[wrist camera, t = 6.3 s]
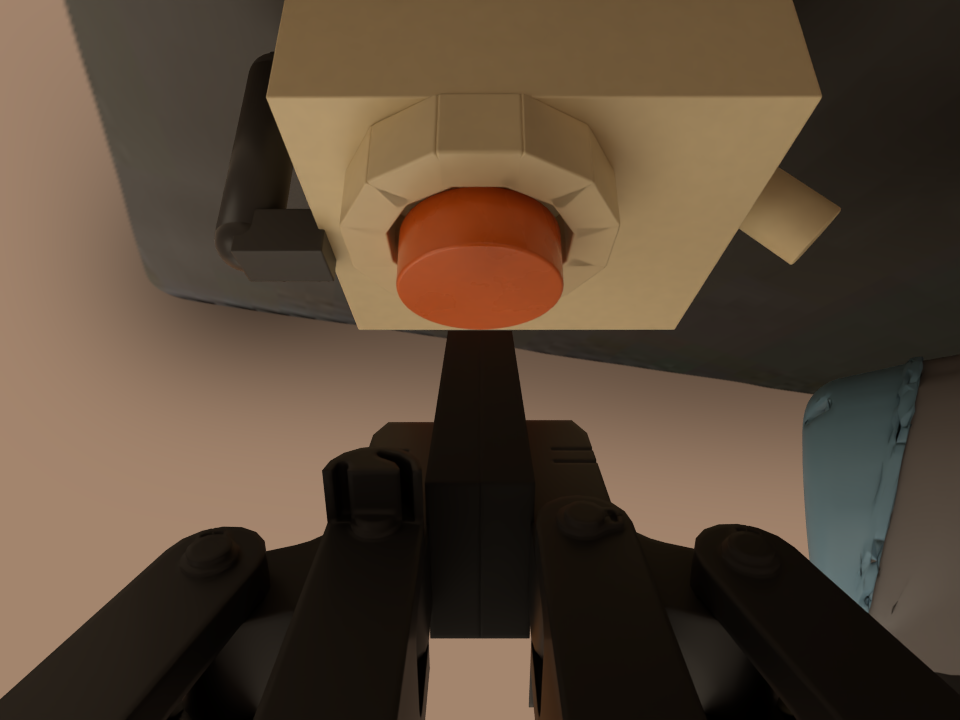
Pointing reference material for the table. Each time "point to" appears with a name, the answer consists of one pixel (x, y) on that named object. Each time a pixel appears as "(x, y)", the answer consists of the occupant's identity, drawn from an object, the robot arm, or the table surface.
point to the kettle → (543, 134)
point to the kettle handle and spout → (306, 249)
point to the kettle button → (479, 258)
